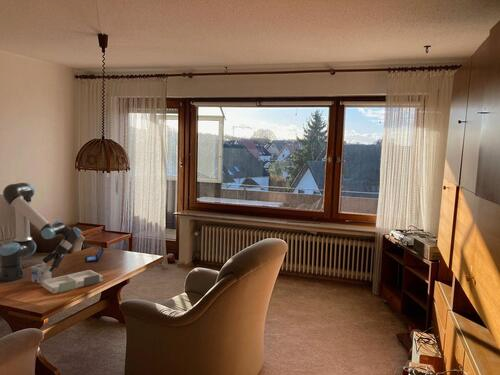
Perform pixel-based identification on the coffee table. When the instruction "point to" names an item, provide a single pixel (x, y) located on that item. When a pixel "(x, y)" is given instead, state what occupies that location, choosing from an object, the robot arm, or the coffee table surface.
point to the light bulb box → (40, 273)
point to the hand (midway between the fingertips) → (41, 273)
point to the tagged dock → (72, 281)
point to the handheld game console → (95, 257)
